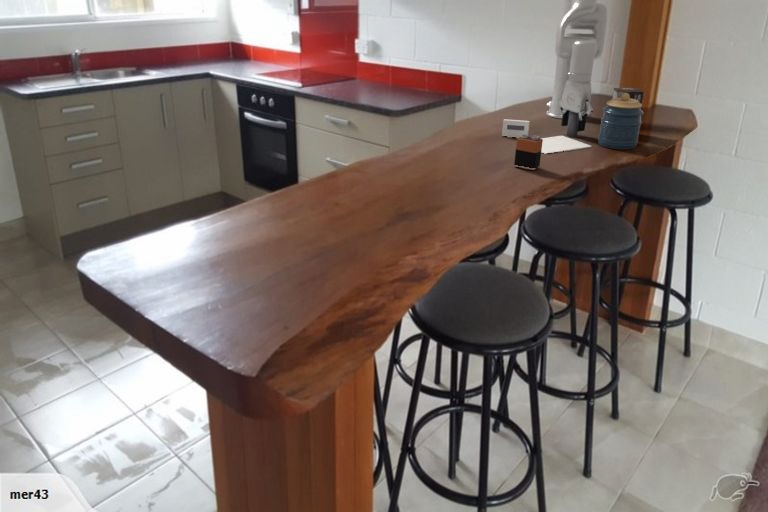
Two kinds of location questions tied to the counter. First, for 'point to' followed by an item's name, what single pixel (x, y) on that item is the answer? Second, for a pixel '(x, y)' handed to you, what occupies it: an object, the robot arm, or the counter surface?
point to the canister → (620, 123)
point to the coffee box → (633, 93)
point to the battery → (528, 151)
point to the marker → (572, 124)
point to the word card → (515, 128)
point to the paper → (561, 144)
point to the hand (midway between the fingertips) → (572, 127)
